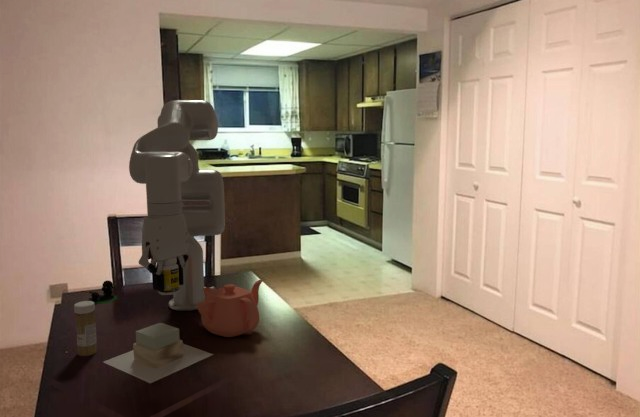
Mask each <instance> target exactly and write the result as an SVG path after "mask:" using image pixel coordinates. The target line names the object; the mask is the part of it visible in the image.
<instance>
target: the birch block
mask: <svg viewBox="0 0 640 417" xmlns="http://www.w3.org/2000/svg"><path fill="white" fill-rule="evenodd" d="M183 344H184V342H183V340H182V339H180V341H178V342H175V343H173V344H170V345H168V346H165V347H163V348H160V349H158V350H152V349H149V348H147V347H144V346H141V345H139V344H136V342H134V343H132V348H133V349H132V350H134V360H136V361H138V362H141V363H143V364H145V365H148V366H150V367H153V368H155V369H156V368H158V367H160V366H163V365H165V364H167V363H170V362H172V361H174V360H176V359H179V358H181V357H183Z"/></svg>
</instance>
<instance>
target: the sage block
mask: <svg viewBox="0 0 640 417" xmlns="http://www.w3.org/2000/svg"><path fill="white" fill-rule="evenodd" d="M180 340H181V339H180V328H178V327H175V326H173V325H169V324H166V323H164V322H159V323H158V322H157V323H156V324H151V325H149V326H147V327H143V328H141V329H138V330H135V343H136V344H139V345H141V346H144V347H147V348H149V349H152V350H158V349H160V348H163V347H165V346H168V345H170V344H173V343H175V342H178V341H180Z"/></svg>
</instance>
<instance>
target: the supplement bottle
mask: <svg viewBox="0 0 640 417" xmlns="http://www.w3.org/2000/svg"><path fill="white" fill-rule="evenodd" d="M176 263H177V258H176V257H174V258H170V259H168V260H164V261H163V265H162V271H161V274H163V275H164V291H158V290H157V293H158V294H159V295H161V296H171V295H173V294H176V293H178V292H179V268H178V265H177V264H176Z"/></svg>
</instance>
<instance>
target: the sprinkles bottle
mask: <svg viewBox="0 0 640 417" xmlns="http://www.w3.org/2000/svg"><path fill="white" fill-rule="evenodd" d="M95 305H96V304H94V302H93V301H87V300H83V301H79V302H76V303H75V304H74V305H73V310H74V314H75V330H76V333H75V334H76V345H77V355H78V356H80V357H88V356H89V357H90V356H92V355H95V354H96V353H97V352H98V350H97V348H98V347H97V341H98V340H97V328H96V327H97V326H96V317H95V316H96V314H95V310H96V306H95Z"/></svg>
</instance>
